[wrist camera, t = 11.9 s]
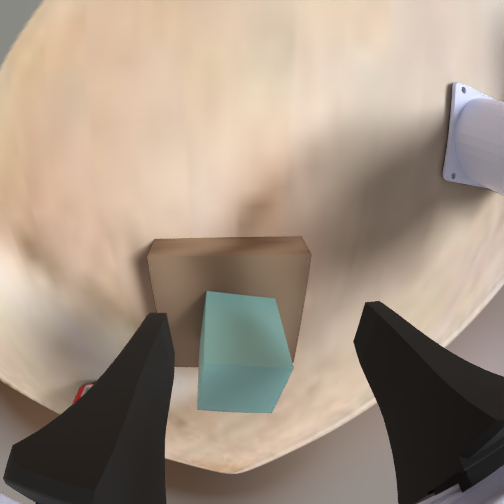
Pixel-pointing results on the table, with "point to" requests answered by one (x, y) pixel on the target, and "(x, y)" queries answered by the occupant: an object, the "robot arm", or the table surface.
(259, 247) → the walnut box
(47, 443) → the robot arm
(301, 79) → the table surface
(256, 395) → the teal block
